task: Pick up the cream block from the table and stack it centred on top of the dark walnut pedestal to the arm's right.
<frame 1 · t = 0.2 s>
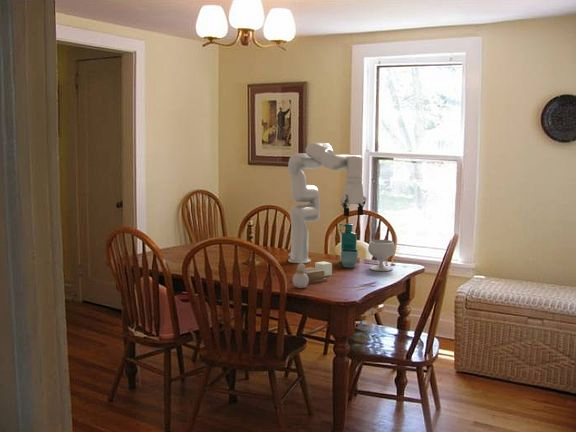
hand: (353, 215, 304), 30 cm above the table, fingers open, 9 cm apart
chalice: (380, 269, 325), on the table
cream block: (323, 274, 311), on the table
pitcher: (346, 262, 343), on the table
flower pot: (349, 267, 331), on the table
walnut pedestal: (309, 280, 297), on the table
perfume bottle: (301, 288, 281), on the table
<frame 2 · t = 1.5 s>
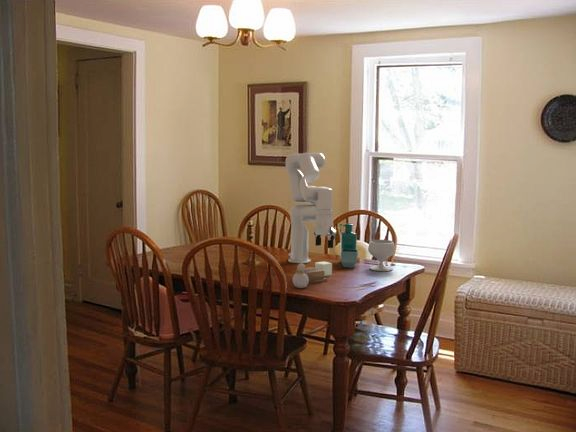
hand: (324, 246, 309), 14 cm above the table, fingers open, 9 cm apart
nothing on the table moved.
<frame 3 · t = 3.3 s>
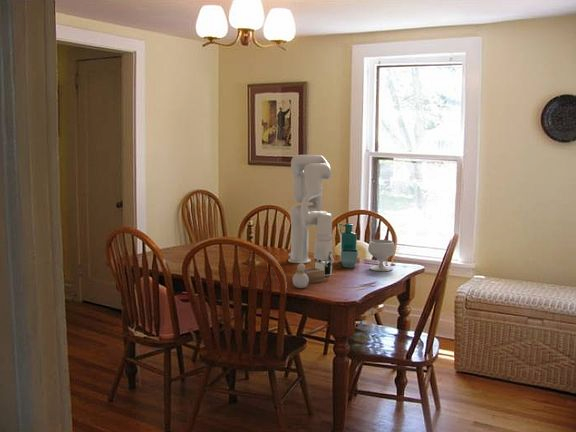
hand: (323, 272, 310), 1 cm above the table, fingers closed on cream block, 6 cm apart
cream block: (323, 274, 311), on the table, touching gripper
everything else where it was.
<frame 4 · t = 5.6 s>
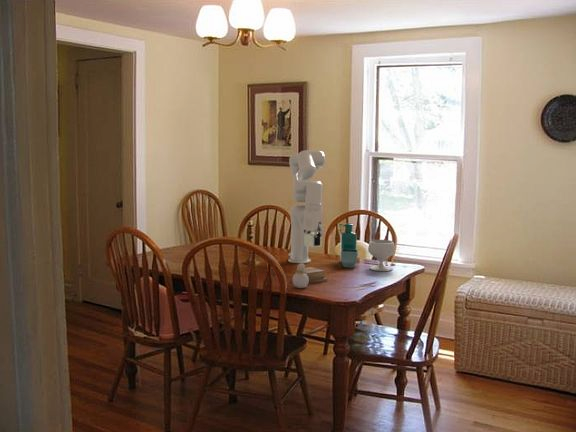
hand: (312, 244, 297), 17 cm above the table, fingers closed on cream block, 6 cm apart
cream block: (312, 246, 297), point 16 cm above the table, touching gripper
everything else where it was.
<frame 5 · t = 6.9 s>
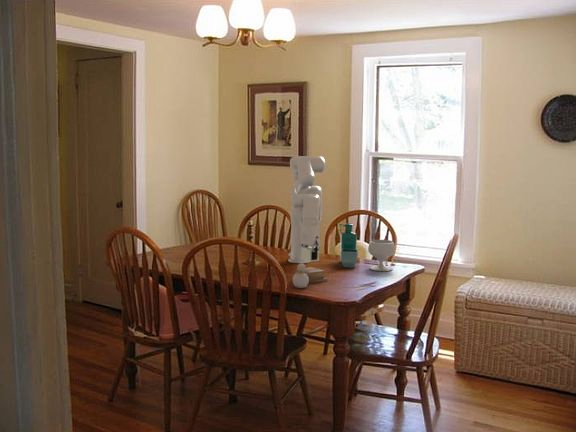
hand: (310, 258, 295), 11 cm above the table, fingers closed on cream block, 6 cm apart
cream block: (310, 260, 296), point 10 cm above the table, touching gripper
everything else where it was.
when the fingers open (7 cm above the table, at t = 8.0 s): cream block drops 1 cm, resting on walnut pedestal.
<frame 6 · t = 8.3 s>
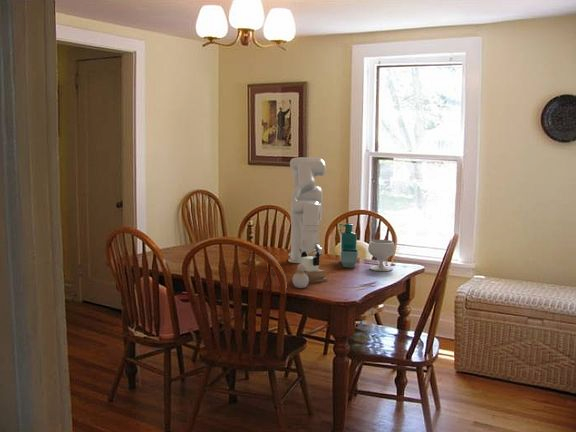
hand: (309, 263, 296), 8 cm above the table, fingers open, 9 cm apart
cream block: (309, 269, 296), point 5 cm above the table, touching walnut pedestal
everything else where it was.
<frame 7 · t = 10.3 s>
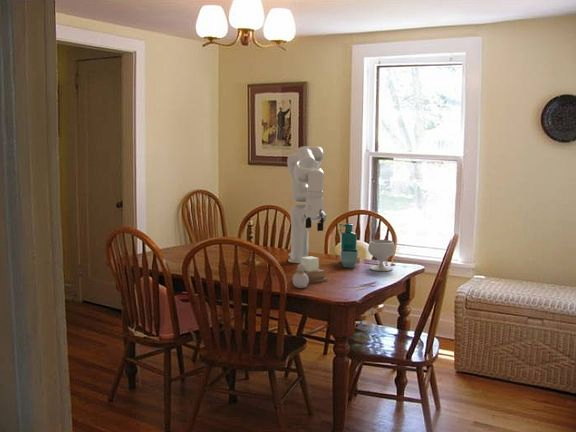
hand: (314, 229, 303), 24 cm above the table, fingers open, 9 cm apart
nothing on the table moved.
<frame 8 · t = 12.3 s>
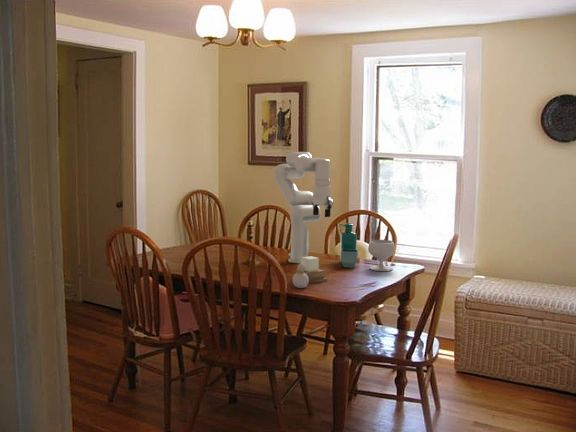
hand: (321, 215, 319), 28 cm above the table, fingers open, 9 cm apart
nothing on the table moved.
at the end: cream block inside the target area on the walnut pedestal (0.1 cm from its centre), point 5.0 cm above the walnut pedestal's base; cream block tilted 0°; the gripper is holding nothing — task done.
